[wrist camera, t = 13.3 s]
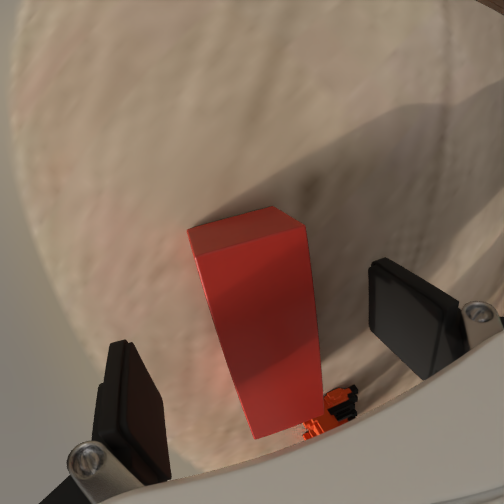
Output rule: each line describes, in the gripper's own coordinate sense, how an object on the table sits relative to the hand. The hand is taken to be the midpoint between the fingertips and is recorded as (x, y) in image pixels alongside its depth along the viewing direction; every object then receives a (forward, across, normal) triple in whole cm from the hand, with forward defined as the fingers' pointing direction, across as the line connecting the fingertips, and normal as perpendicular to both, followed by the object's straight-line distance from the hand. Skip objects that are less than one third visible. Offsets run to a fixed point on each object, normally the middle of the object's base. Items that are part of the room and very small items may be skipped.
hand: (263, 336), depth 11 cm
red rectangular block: (+1, 0, 0) cm, 1 cm away
